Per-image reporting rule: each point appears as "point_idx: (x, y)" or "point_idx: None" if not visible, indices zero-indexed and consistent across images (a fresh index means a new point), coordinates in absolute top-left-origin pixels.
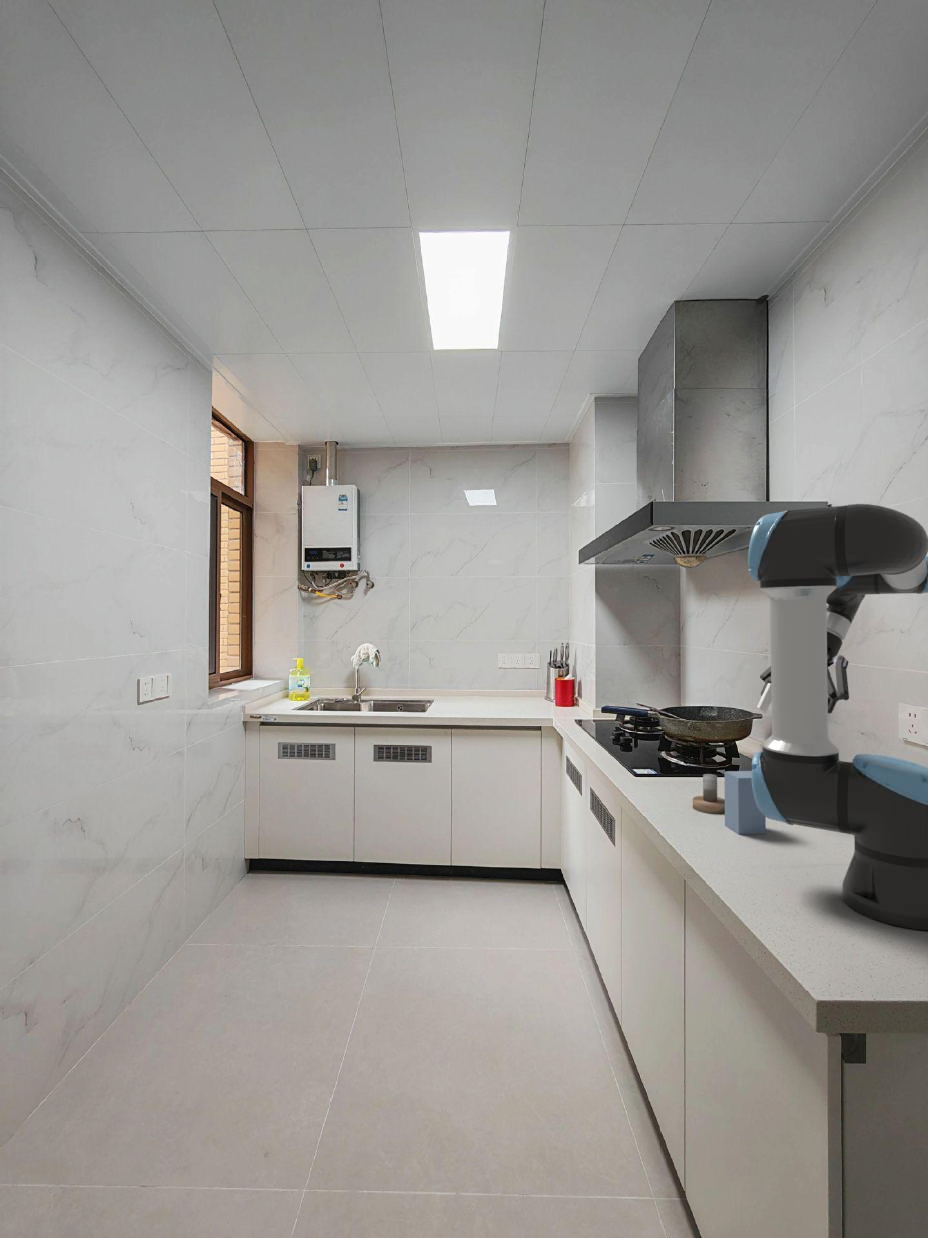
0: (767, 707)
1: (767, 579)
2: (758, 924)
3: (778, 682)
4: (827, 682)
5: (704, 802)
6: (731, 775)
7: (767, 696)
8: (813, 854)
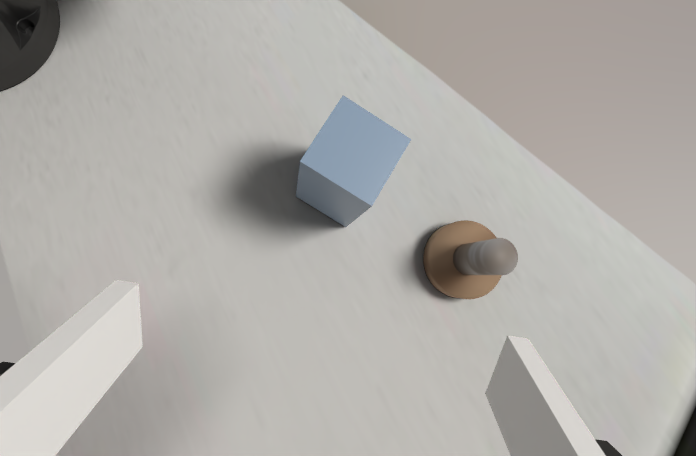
0: (500, 418)
1: None
2: None
3: None
4: None
5: (464, 232)
6: (375, 117)
7: (546, 439)
8: (179, 161)
